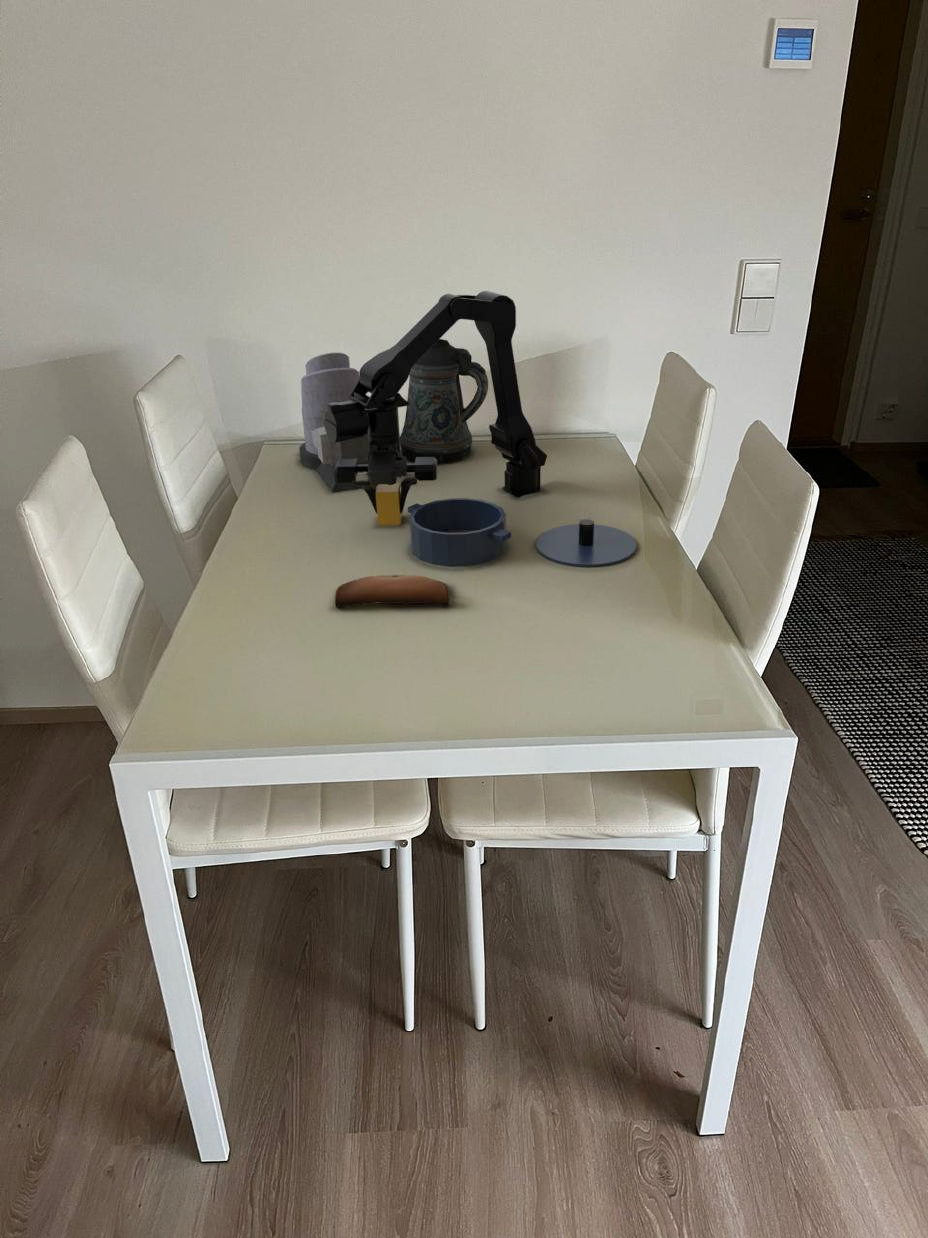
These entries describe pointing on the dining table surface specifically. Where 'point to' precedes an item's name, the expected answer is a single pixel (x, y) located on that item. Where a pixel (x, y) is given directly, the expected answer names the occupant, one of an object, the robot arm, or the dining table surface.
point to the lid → (586, 545)
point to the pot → (457, 547)
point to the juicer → (318, 388)
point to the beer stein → (441, 405)
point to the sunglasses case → (391, 590)
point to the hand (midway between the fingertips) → (389, 512)
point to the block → (388, 504)
